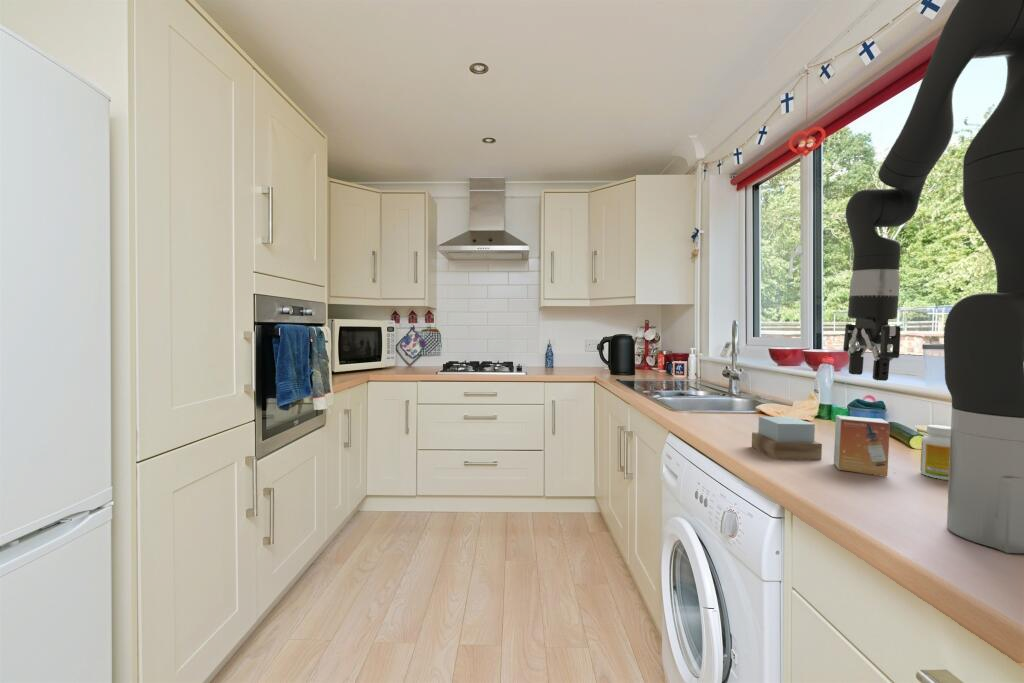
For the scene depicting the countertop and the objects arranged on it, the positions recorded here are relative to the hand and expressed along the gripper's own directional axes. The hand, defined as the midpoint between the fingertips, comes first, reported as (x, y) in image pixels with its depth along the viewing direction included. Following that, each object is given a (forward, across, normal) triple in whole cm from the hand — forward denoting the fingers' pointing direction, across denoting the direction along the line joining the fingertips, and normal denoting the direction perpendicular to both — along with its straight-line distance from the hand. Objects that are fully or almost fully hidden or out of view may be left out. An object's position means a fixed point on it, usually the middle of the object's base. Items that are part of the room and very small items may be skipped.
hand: (867, 377), depth 89 cm
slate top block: (+16, +12, +9) cm, 22 cm away
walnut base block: (+20, +12, +9) cm, 25 cm away
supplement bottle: (+19, +1, -14) cm, 24 cm away
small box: (+19, +1, -1) cm, 19 cm away
